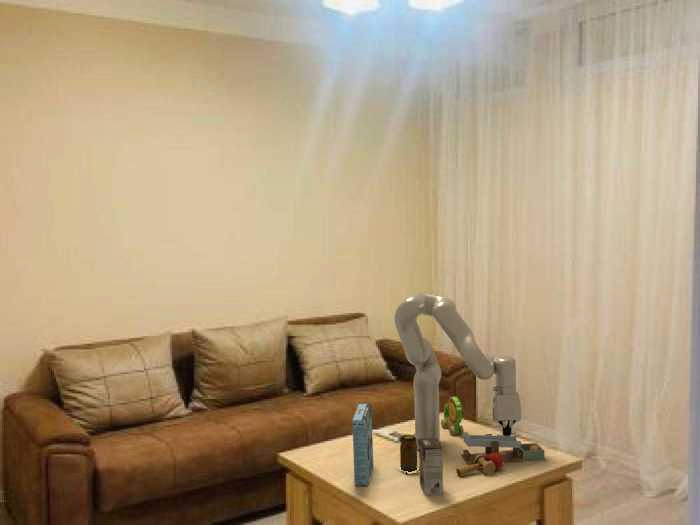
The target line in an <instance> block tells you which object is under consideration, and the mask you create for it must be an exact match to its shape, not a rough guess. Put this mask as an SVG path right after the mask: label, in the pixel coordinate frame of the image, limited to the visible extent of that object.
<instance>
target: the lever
mask: <svg viewBox="0 0 700 525" xmlns="http://www.w3.org/2000/svg"><path fill="white" fill-rule="evenodd" d="M492 441H498V442H499V448H506V449H507V448H508V449H509V448H510V449H511V448H512V449H513V448H521V444H522V440H517V435H510V436H504V435H503V433H497V434H496V435H493V434H492V435H484V434H469V432H468V431H465V432H464V433H463V442H464V444H465V445H466V447H469V448H470V447H475V448H477V447H478V448H485V447H492Z"/></svg>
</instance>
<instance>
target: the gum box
mask: <svg viewBox="0 0 700 525" xmlns="http://www.w3.org/2000/svg"><path fill="white" fill-rule="evenodd" d="M372 413H373V412H372V404H370V403H359V404H358V406H357V408H356V410H355V413H354V415H353V418H352V420H351V421H352V439H353V440H352V444H353V445H352V446H353V447H352V448H353V449H352V451H353V475H354V476H353V477H354V480H353V484H355V485H354V486H356V485H368V486H369V484H370V478H371V475H372V472H373V467H374V447H373V446H374V443H373V418H372V417H373V416H372V415H373V414H372ZM371 471H372V472H371Z"/></svg>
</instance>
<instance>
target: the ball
mask: <svg viewBox="0 0 700 525" xmlns="http://www.w3.org/2000/svg"><path fill="white" fill-rule="evenodd" d="M530 450H539V448H538V447H537V446H536V445H532V446H531V447H530V448H529V451H530Z"/></svg>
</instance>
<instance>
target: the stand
mask: <svg viewBox="0 0 700 525" xmlns="http://www.w3.org/2000/svg"><path fill="white" fill-rule="evenodd" d="M485 435H493V434H492V433H485ZM484 448H485V450H484V451H485V452H477V453H471V452H470V451H469V450H468V449H465V448H464V449H462V453H461V458H462V459H463V460H464V462H465V463H466V466H469V465H473V464H475V463H474V460H475V457H476V456H477V455H480V454H481V455H484V456H485V457H487V456H488V455H489V454H490V453H498V454H499V455H500V456H501V457H502V459H503V464H504V463H518V462H519V463H520V462H525V461H524V460H523V458H522V457H521V449H520V448H512V450H511V451H500V447H499V442H498V441H492V447H484Z"/></svg>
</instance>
